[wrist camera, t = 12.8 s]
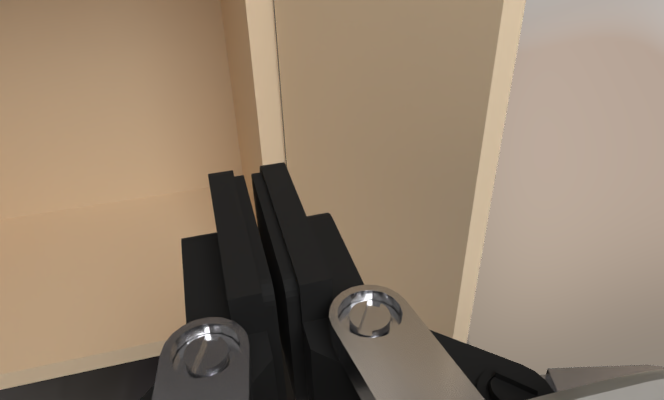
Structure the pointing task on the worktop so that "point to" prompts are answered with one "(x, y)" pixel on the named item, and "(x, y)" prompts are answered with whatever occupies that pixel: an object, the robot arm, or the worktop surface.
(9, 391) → the worktop surface
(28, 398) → the worktop surface
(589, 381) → the robot arm
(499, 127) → the flap
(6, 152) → the carton
